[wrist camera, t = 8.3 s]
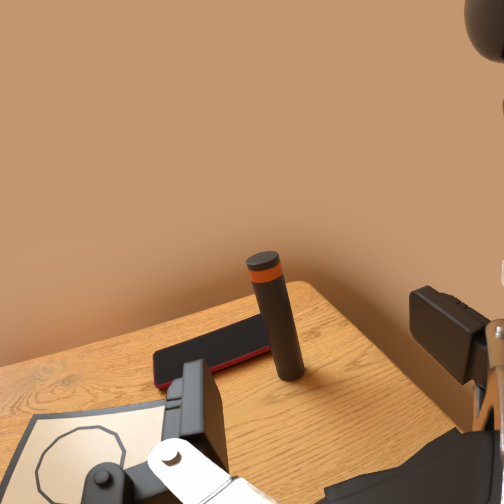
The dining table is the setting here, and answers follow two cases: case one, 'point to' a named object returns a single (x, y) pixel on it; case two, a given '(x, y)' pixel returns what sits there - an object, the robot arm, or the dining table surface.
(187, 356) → the smartphone
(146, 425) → the board
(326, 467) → the dining table surface
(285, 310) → the marker
